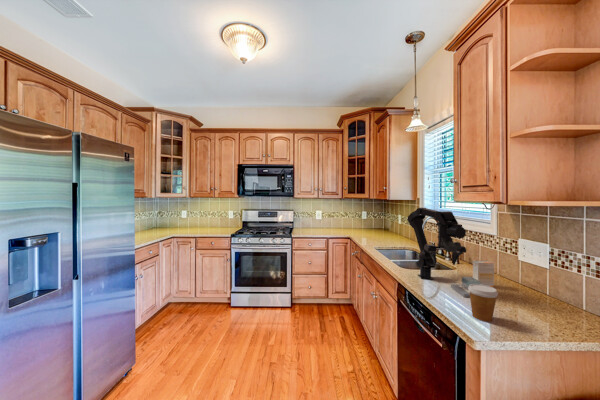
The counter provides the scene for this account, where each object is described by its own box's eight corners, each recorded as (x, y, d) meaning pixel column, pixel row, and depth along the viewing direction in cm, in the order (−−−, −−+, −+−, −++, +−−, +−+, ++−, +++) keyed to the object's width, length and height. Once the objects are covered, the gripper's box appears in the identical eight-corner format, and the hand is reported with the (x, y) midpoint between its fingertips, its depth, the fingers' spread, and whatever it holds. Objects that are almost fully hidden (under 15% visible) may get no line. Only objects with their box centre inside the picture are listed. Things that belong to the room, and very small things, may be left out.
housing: (469, 291, 117) (469, 281, 117) (461, 286, 124) (461, 276, 123) (480, 292, 116) (480, 282, 116) (472, 286, 123) (472, 277, 123)
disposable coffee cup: (471, 309, 102) (471, 281, 102) (499, 318, 95) (500, 288, 95) (464, 317, 96) (465, 287, 95) (494, 326, 88) (495, 294, 88)
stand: (450, 286, 127) (450, 283, 127) (477, 288, 125) (477, 285, 125) (464, 297, 114) (464, 293, 114) (493, 298, 113) (493, 295, 112)
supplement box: (488, 284, 131) (488, 260, 131) (494, 287, 126) (494, 262, 126) (472, 283, 132) (472, 260, 132) (477, 286, 127) (478, 262, 127)
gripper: (432, 237, 119) (432, 268, 120) (473, 238, 117) (472, 269, 118) (423, 233, 131) (423, 262, 131) (460, 234, 128) (460, 263, 129)
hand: (444, 264), depth 127 cm, fingers open, 9 cm apart
